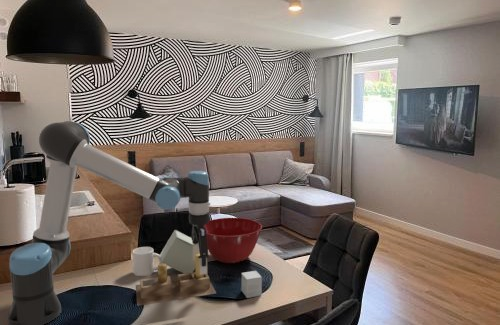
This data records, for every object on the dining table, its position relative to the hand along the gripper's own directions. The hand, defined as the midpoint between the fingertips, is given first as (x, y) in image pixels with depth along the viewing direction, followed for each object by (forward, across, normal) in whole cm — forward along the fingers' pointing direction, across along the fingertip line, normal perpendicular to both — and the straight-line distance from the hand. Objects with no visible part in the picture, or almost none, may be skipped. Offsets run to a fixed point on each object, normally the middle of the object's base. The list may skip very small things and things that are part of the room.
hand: (199, 266), depth 142 cm
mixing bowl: (+9, +25, -20) cm, 33 cm away
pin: (+8, 0, 0) cm, 8 cm away
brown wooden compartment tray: (+9, 0, +10) cm, 13 cm away
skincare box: (+9, -10, -18) cm, 22 cm away
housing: (+5, +16, +7) cm, 19 cm away
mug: (+9, +19, +18) cm, 28 cm away
